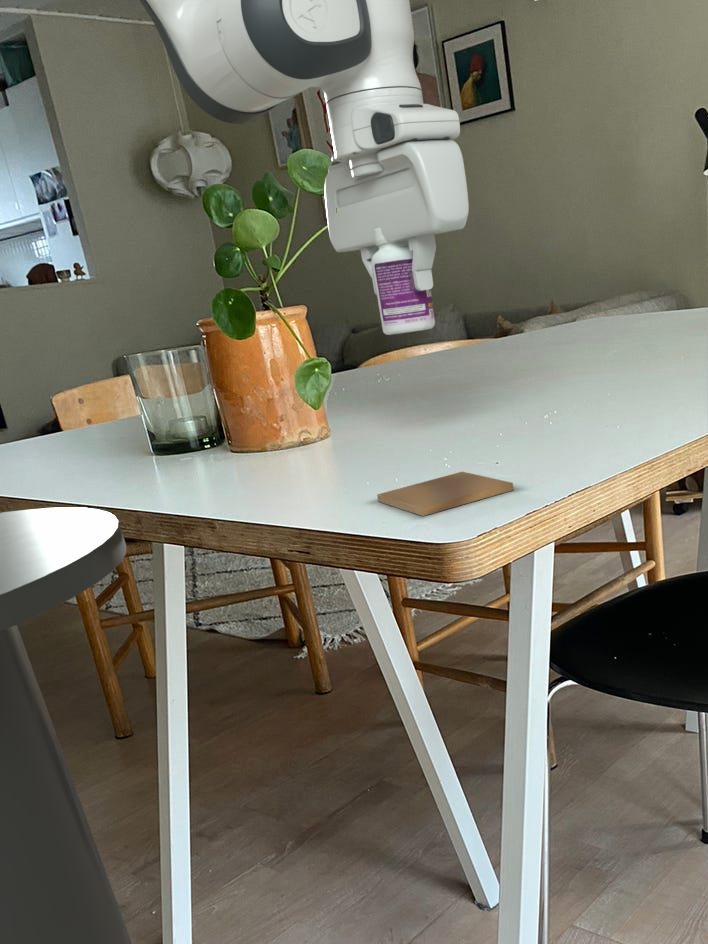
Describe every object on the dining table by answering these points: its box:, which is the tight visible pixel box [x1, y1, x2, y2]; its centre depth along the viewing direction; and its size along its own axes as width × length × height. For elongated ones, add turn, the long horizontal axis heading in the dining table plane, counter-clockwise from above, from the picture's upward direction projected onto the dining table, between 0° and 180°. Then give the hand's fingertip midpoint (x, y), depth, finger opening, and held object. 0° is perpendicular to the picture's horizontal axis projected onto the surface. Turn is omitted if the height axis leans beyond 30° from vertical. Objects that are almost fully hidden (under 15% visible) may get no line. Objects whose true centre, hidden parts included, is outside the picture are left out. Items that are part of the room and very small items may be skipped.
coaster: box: [376, 471, 514, 517], centre depth 73 cm, size 8×8×1 cm
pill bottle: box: [371, 228, 436, 336], centre depth 90 cm, size 5×5×10 cm
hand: (403, 292), depth 91 cm, fingers closed on pill bottle, 5 cm apart
